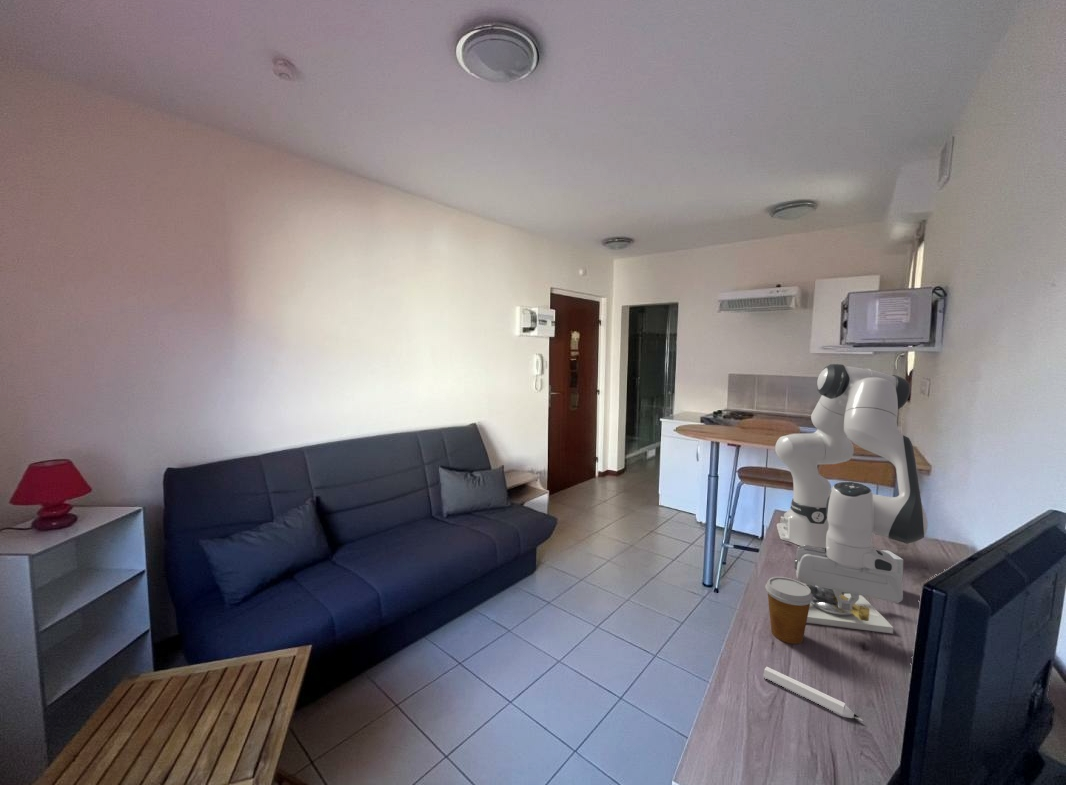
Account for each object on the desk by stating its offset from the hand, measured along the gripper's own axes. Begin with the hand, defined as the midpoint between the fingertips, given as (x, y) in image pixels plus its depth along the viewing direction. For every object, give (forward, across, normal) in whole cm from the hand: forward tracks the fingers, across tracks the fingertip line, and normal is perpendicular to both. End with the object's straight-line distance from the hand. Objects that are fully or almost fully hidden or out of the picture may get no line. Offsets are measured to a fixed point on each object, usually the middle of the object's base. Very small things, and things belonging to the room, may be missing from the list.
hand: (844, 608), depth 101 cm
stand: (+5, -2, +10) cm, 11 cm away
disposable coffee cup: (+6, -12, -9) cm, 16 cm away
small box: (+5, +12, +26) cm, 29 cm away
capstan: (+3, -2, +9) cm, 10 cm away
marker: (+6, -9, -29) cm, 31 cm away
